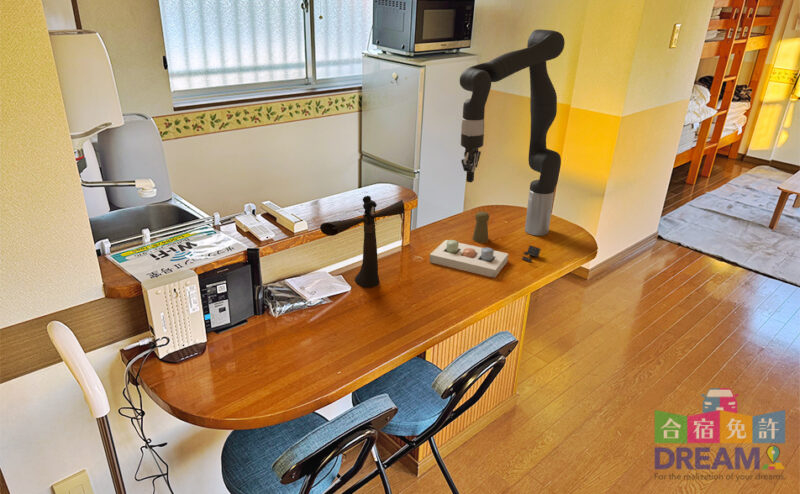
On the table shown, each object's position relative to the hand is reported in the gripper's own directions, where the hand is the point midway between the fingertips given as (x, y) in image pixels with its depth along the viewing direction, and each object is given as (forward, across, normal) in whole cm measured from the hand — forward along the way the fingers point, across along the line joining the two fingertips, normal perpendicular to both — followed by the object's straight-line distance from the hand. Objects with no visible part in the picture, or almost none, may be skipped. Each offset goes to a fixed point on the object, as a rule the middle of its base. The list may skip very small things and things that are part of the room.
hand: (470, 181), depth 189 cm
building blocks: (+28, -5, +22) cm, 36 cm away
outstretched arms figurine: (+26, +37, -21) cm, 50 cm away
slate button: (+25, +7, +10) cm, 28 cm away
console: (+27, +7, +4) cm, 28 cm away
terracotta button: (+27, +7, +4) cm, 28 cm away
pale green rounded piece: (+25, +7, -3) cm, 26 cm away
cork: (+27, -13, +1) cm, 30 cm away
